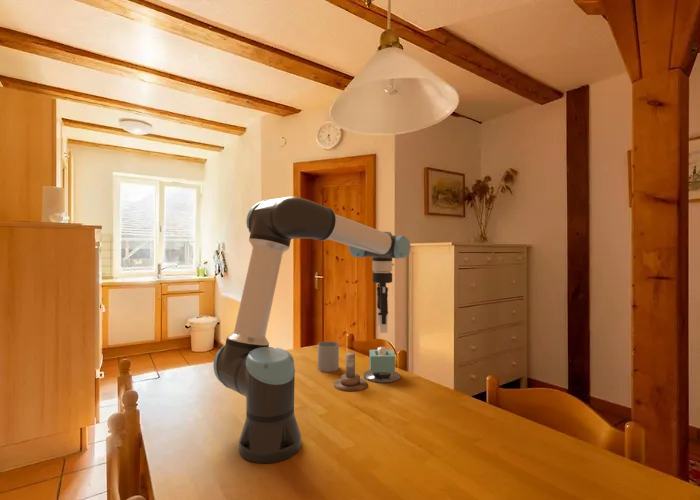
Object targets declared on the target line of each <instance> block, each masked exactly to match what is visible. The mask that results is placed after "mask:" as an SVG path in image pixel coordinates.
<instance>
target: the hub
mask: <svg viewBox="0 0 700 500" xmlns="http://www.w3.org/2000/svg"><path fill="white" fill-rule="evenodd" d="M377 350H378V355H386V350H387V347H385V346H378V347H377ZM363 378H364V380H365V381H366V380H367V381H369V382H371V383H379V384H390V383H395V382H397V381H399V380H400V379H401V374H400V373H399V371H396V370H395V373H385V372H371V371H370V369H368V370H366V371H364V372H363Z"/></svg>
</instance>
